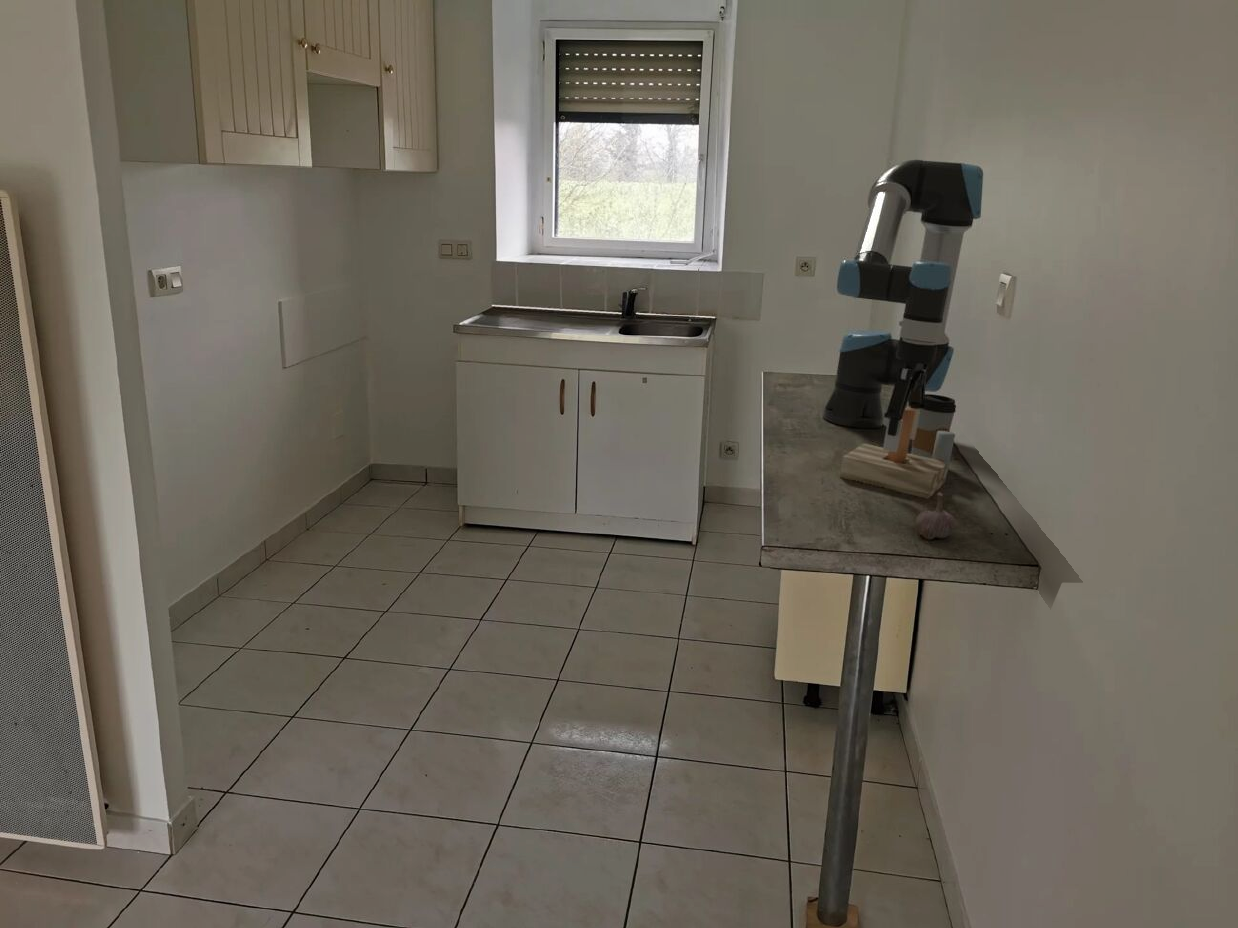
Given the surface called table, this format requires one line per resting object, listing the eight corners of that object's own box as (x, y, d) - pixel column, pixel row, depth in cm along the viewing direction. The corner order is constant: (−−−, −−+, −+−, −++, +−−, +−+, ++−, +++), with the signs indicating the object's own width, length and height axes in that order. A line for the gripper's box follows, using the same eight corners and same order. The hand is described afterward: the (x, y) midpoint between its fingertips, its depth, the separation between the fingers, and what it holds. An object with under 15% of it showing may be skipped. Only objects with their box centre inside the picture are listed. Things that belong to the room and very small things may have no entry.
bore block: (860, 463, 208) (863, 443, 207) (944, 483, 200) (948, 462, 198) (839, 477, 196) (843, 456, 195) (927, 498, 188) (932, 477, 187)
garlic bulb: (923, 543, 163) (931, 499, 161) (903, 527, 170) (911, 485, 168) (963, 544, 165) (972, 500, 163) (942, 528, 172) (951, 486, 169)
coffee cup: (928, 457, 218) (940, 393, 214) (952, 469, 211) (966, 402, 206) (897, 458, 215) (910, 393, 211) (921, 470, 208) (934, 402, 203)
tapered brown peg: (887, 471, 200) (900, 406, 196) (904, 475, 198) (917, 409, 194) (882, 474, 197) (895, 408, 193) (899, 479, 195) (913, 412, 191)
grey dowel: (930, 475, 204) (939, 429, 202) (947, 479, 203) (956, 433, 200) (926, 478, 201) (935, 432, 199) (943, 482, 200) (953, 436, 197)
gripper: (915, 332, 202) (897, 429, 208) (881, 344, 181) (862, 451, 187) (951, 338, 198) (932, 437, 204) (921, 351, 177) (901, 460, 183)
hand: (899, 444), depth 196 cm, fingers open, 13 cm apart
